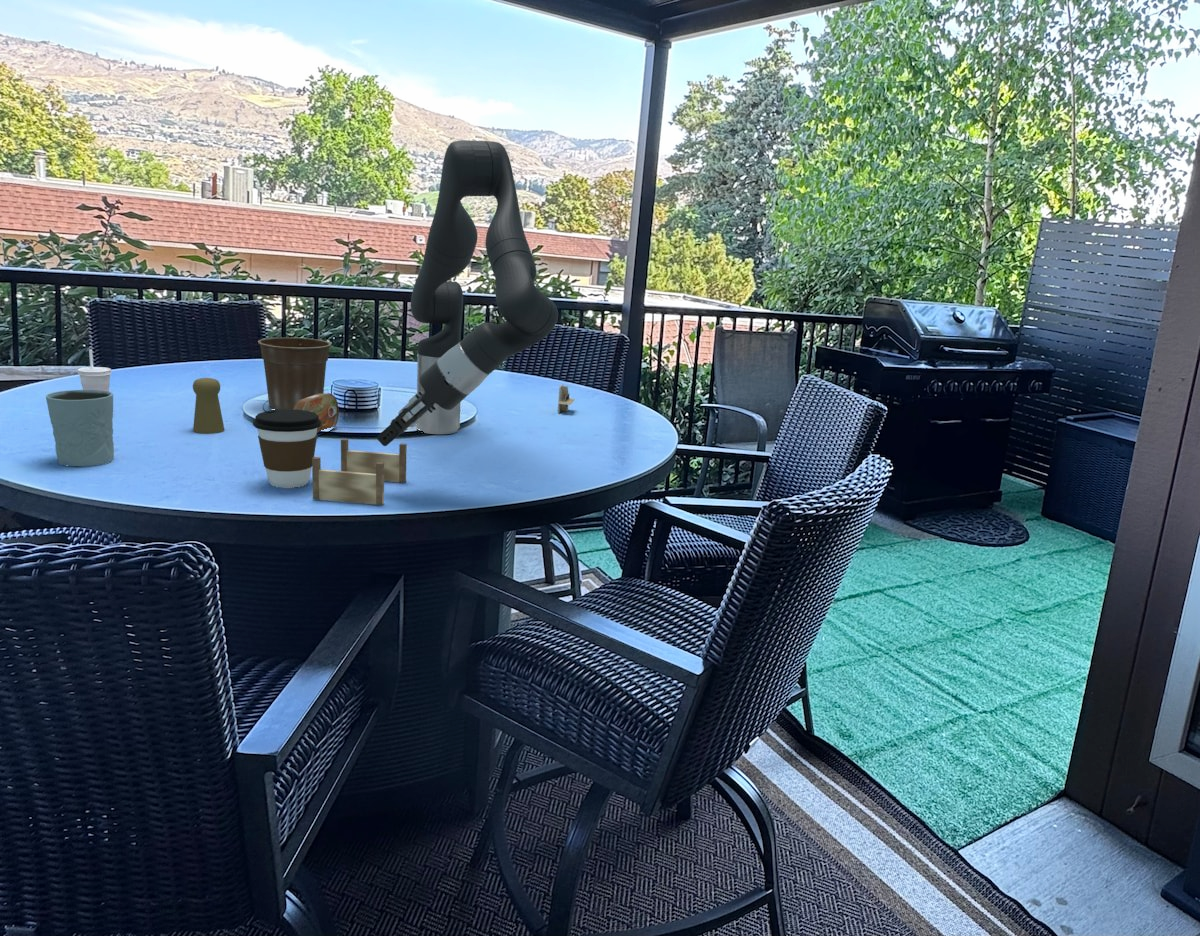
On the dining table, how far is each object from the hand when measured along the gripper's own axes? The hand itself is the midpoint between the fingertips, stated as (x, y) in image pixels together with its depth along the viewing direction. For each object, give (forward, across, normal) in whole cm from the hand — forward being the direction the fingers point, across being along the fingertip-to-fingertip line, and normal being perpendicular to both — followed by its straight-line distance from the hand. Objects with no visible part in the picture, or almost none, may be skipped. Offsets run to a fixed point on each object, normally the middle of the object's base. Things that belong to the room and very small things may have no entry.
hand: (381, 441), depth 143 cm
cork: (+40, -32, -26) cm, 57 cm away
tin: (+25, -36, -11) cm, 45 cm away
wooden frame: (+9, 0, +4) cm, 10 cm away
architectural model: (-9, -81, +24) cm, 85 cm away
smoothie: (+60, -39, -46) cm, 85 cm away
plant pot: (+34, -59, -21) cm, 71 cm away
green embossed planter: (+45, -4, -32) cm, 55 cm away
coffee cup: (+18, 0, -5) cm, 19 cm away
